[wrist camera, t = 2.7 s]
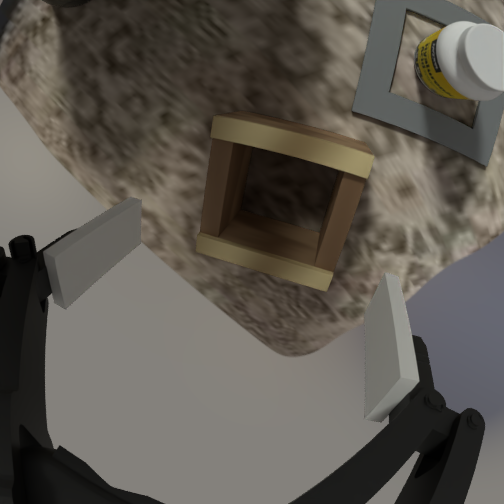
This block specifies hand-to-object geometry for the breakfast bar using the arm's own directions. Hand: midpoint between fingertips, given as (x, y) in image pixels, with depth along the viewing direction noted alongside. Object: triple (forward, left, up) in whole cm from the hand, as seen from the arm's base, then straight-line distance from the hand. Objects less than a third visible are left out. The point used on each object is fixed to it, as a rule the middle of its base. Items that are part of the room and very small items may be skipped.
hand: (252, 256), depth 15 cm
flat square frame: (+10, +14, -13) cm, 21 cm away
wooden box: (0, 0, -13) cm, 13 cm away
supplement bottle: (+10, +14, -13) cm, 22 cm away
